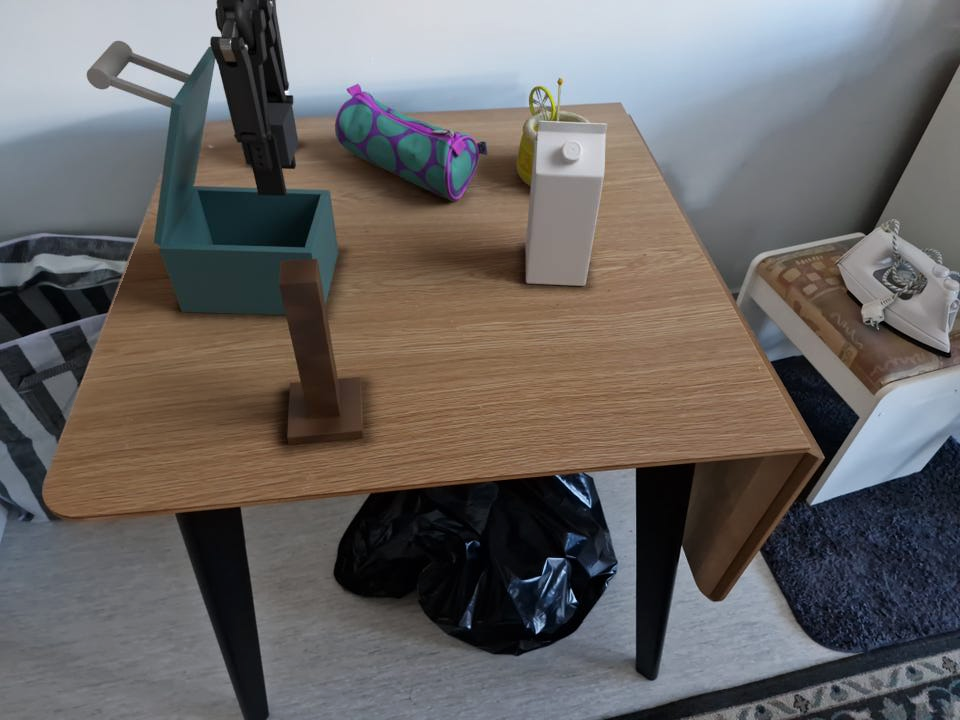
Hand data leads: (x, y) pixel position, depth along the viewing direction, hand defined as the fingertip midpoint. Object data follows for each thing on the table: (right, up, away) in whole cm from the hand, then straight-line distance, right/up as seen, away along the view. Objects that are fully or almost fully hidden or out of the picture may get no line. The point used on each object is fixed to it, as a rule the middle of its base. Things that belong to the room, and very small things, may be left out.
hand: (277, 179), depth 75 cm
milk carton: (+30, -8, +13) cm, 34 cm away
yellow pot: (+32, +8, +28) cm, 43 cm away
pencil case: (+11, +7, +27) cm, 30 cm away
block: (0, +2, -2) cm, 3 cm away
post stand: (+6, -24, -4) cm, 25 cm away
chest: (-4, -9, +10) cm, 14 cm away
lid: (-8, +2, -2) cm, 9 cm away
